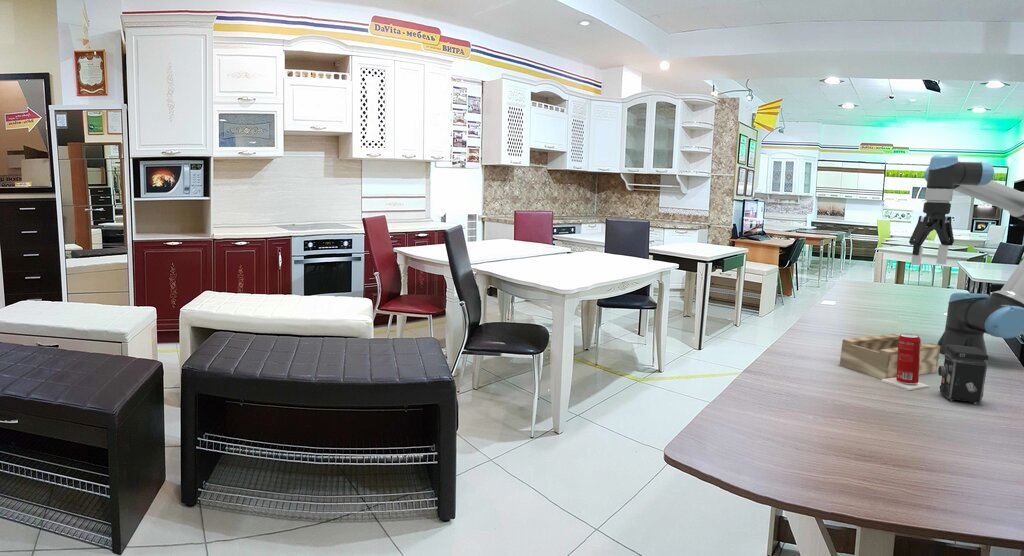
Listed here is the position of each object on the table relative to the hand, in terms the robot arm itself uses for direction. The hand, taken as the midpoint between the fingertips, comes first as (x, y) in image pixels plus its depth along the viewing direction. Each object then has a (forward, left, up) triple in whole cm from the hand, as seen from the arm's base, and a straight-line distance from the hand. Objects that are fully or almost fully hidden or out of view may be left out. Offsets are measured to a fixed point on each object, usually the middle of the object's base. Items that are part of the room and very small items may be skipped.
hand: (928, 264), depth 206 cm
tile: (+28, +15, -35) cm, 47 cm away
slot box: (+17, +2, -35) cm, 39 cm away
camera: (+25, +28, -35) cm, 51 cm away
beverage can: (+28, +15, -34) cm, 47 cm away
